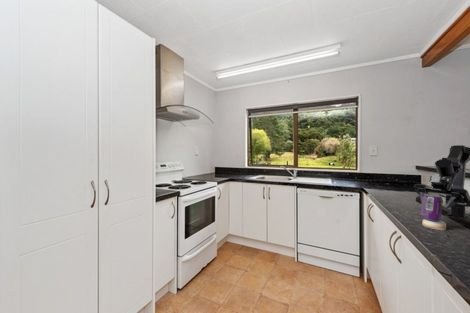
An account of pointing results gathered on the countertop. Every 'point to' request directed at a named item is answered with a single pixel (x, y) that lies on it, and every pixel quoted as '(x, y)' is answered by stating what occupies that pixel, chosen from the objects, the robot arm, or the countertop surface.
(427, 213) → the beverage can
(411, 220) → the countertop surface
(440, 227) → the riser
